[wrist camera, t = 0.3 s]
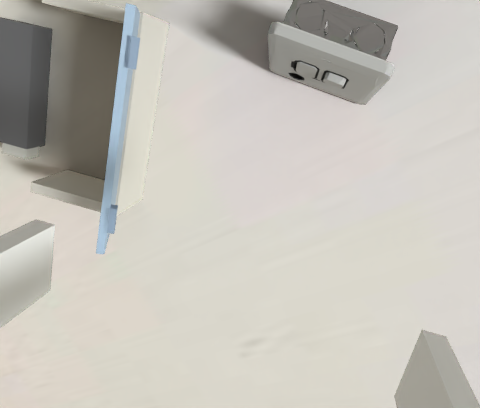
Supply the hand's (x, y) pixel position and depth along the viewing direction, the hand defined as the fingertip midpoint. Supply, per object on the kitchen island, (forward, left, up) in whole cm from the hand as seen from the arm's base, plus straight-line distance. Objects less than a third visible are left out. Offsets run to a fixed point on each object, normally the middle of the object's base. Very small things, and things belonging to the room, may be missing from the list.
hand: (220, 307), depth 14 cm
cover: (-1, -14, -17) cm, 22 cm away
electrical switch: (-10, +1, -28) cm, 30 cm away
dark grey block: (-1, -28, -28) cm, 39 cm away
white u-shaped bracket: (-1, -18, -28) cm, 33 cm away
